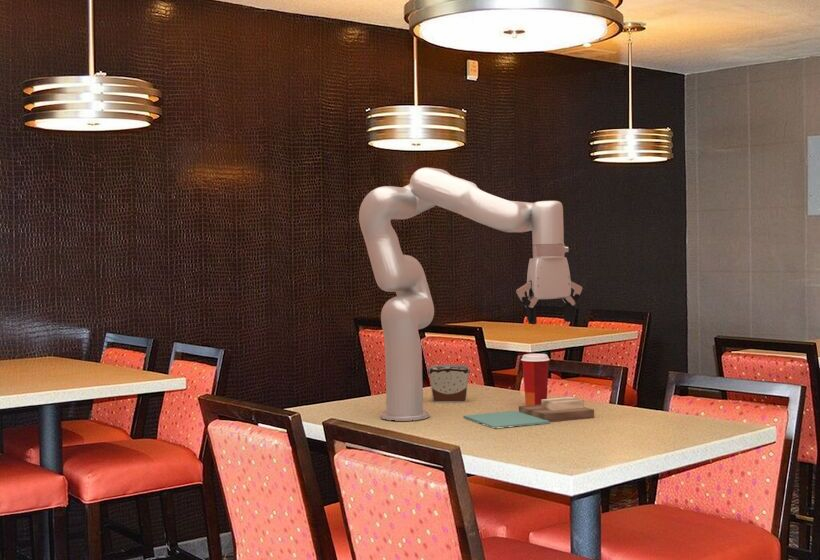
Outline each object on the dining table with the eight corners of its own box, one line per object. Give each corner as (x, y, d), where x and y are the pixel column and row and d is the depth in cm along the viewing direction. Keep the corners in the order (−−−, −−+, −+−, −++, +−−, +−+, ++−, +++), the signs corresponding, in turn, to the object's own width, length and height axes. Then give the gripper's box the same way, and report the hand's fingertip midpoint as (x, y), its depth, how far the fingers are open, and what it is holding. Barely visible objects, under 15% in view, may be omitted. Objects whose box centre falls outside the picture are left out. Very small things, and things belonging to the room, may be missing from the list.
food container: (473, 398, 298) (472, 364, 298) (471, 402, 292) (470, 366, 292) (430, 398, 300) (429, 364, 300) (427, 402, 294) (427, 367, 294)
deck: (518, 414, 271) (518, 406, 270) (565, 409, 276) (565, 402, 276) (545, 422, 258) (545, 414, 257) (594, 417, 263) (594, 409, 263)
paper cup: (552, 404, 285) (551, 353, 285) (548, 408, 278) (547, 356, 277) (523, 403, 287) (522, 353, 287) (519, 408, 280) (518, 356, 279)
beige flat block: (541, 407, 268) (541, 399, 268) (571, 404, 272) (571, 396, 272) (553, 410, 263) (553, 402, 263) (583, 407, 266) (583, 399, 266)
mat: (463, 417, 267) (463, 415, 267) (515, 412, 272) (515, 410, 272) (495, 429, 250) (494, 426, 250) (549, 423, 256) (549, 421, 256)
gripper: (572, 250, 257) (574, 319, 258) (509, 253, 251) (511, 323, 252) (587, 250, 250) (589, 321, 250) (522, 253, 244) (524, 325, 245)
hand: (550, 322), depth 251 cm, fingers open, 9 cm apart
